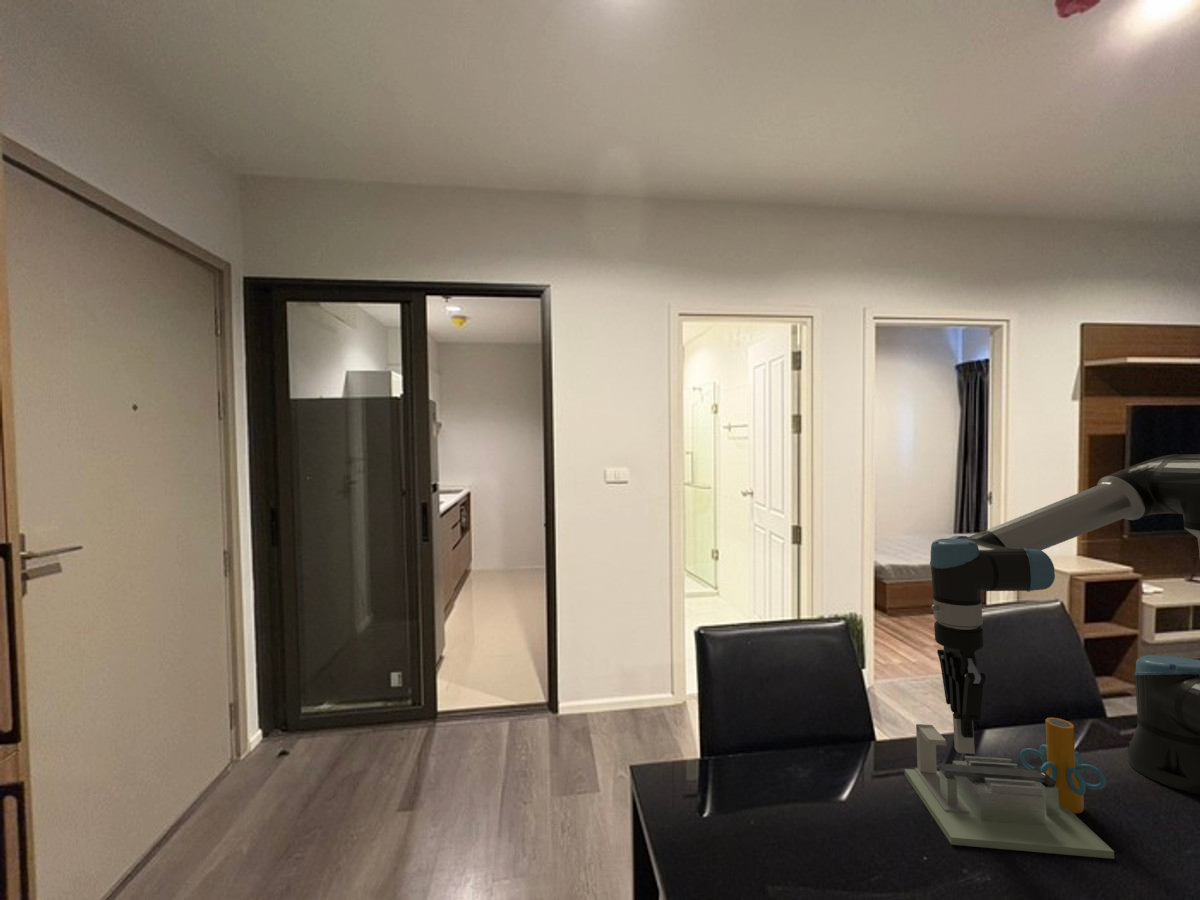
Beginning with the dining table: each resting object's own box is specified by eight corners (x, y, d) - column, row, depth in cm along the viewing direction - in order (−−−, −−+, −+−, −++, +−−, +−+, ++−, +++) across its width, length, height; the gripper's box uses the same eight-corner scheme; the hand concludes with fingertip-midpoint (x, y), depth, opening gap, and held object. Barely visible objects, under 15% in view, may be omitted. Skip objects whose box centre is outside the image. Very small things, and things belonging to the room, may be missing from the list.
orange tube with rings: (1120, 829, 93) (1117, 742, 93) (1051, 823, 95) (1048, 737, 95) (1072, 786, 105) (1069, 709, 105) (1012, 781, 107) (1009, 706, 107)
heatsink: (1034, 792, 102) (1033, 759, 102) (1071, 828, 92) (1069, 791, 92) (932, 784, 105) (931, 752, 105) (957, 819, 95) (956, 783, 95)
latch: (933, 768, 109) (932, 724, 109) (947, 786, 103) (945, 740, 103) (917, 767, 110) (916, 724, 110) (930, 785, 104) (929, 739, 104)
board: (1035, 783, 106) (1035, 776, 106) (1114, 858, 86) (1113, 849, 86) (904, 774, 110) (904, 767, 110) (951, 844, 90) (951, 835, 90)
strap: (1041, 773, 99) (1040, 767, 99) (1055, 786, 95) (1055, 780, 95) (937, 766, 102) (936, 759, 102) (947, 778, 98) (946, 772, 98)
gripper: (920, 613, 107) (927, 732, 106) (952, 634, 94) (959, 770, 93) (962, 613, 105) (968, 733, 105) (1000, 635, 93) (1007, 772, 92)
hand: (964, 751), depth 99 cm, fingers closed
